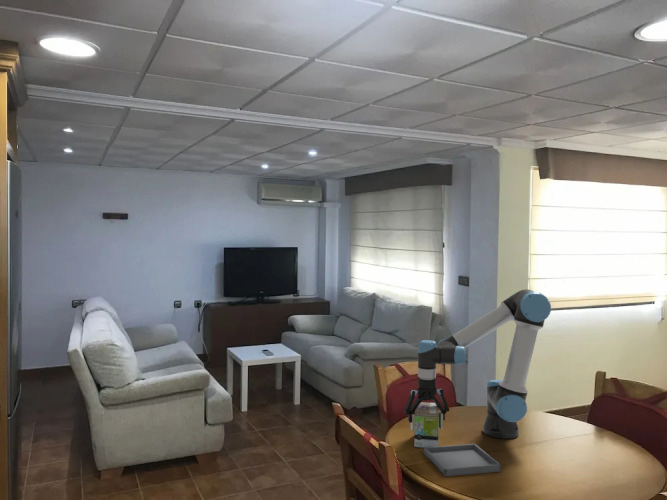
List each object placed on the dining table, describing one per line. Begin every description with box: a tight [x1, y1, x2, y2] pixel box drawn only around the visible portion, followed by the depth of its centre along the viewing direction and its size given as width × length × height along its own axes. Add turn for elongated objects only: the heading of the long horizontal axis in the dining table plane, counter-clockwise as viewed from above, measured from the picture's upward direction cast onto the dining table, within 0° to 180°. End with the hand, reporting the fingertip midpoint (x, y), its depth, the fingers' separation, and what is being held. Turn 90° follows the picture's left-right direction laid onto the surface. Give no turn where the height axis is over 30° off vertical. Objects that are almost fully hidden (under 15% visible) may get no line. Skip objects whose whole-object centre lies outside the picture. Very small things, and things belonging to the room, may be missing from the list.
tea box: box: [413, 401, 440, 448], centre depth 226 cm, size 15×10×15 cm, turn 169°
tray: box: [422, 443, 502, 477], centre depth 205 cm, size 22×21×2 cm
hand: (426, 429), depth 226 cm, fingers closed on tea box, 12 cm apart
